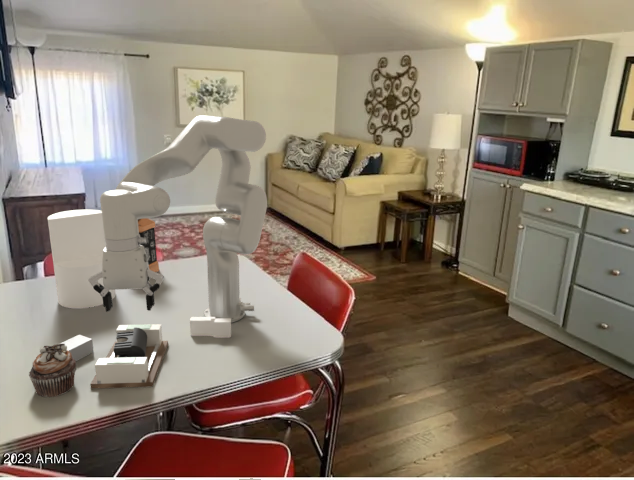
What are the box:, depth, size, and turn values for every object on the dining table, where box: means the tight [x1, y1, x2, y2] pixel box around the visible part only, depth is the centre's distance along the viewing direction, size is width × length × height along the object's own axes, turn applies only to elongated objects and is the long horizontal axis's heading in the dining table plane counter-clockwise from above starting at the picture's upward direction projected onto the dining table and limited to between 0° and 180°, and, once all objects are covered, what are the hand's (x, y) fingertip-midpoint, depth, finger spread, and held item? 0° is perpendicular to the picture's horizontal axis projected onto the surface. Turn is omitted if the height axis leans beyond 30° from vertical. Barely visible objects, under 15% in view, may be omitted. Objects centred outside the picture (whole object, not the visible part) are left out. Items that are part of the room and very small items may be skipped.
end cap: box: [114, 328, 147, 358], centre depth 122 cm, size 10×7×7 cm
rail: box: [97, 344, 160, 384], centre depth 123 cm, size 11×20×1 cm, turn 6°
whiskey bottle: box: [138, 218, 160, 273], centre depth 180 cm, size 10×10×32 cm
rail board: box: [89, 340, 169, 389], centre depth 123 cm, size 14×20×1 cm
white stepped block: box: [189, 316, 232, 339], centre depth 139 cm, size 15×11×6 cm
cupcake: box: [28, 343, 77, 398], centre depth 112 cm, size 10×10×10 cm
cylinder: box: [46, 208, 116, 309], centre depth 158 cm, size 17×17×28 cm
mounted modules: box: [94, 323, 163, 384], centre depth 123 cm, size 11×20×5 cm, turn 6°
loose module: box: [59, 334, 95, 362], centre depth 126 cm, size 5×8×4 cm, turn 153°
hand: (129, 308), depth 120 cm, fingers open, 9 cm apart
